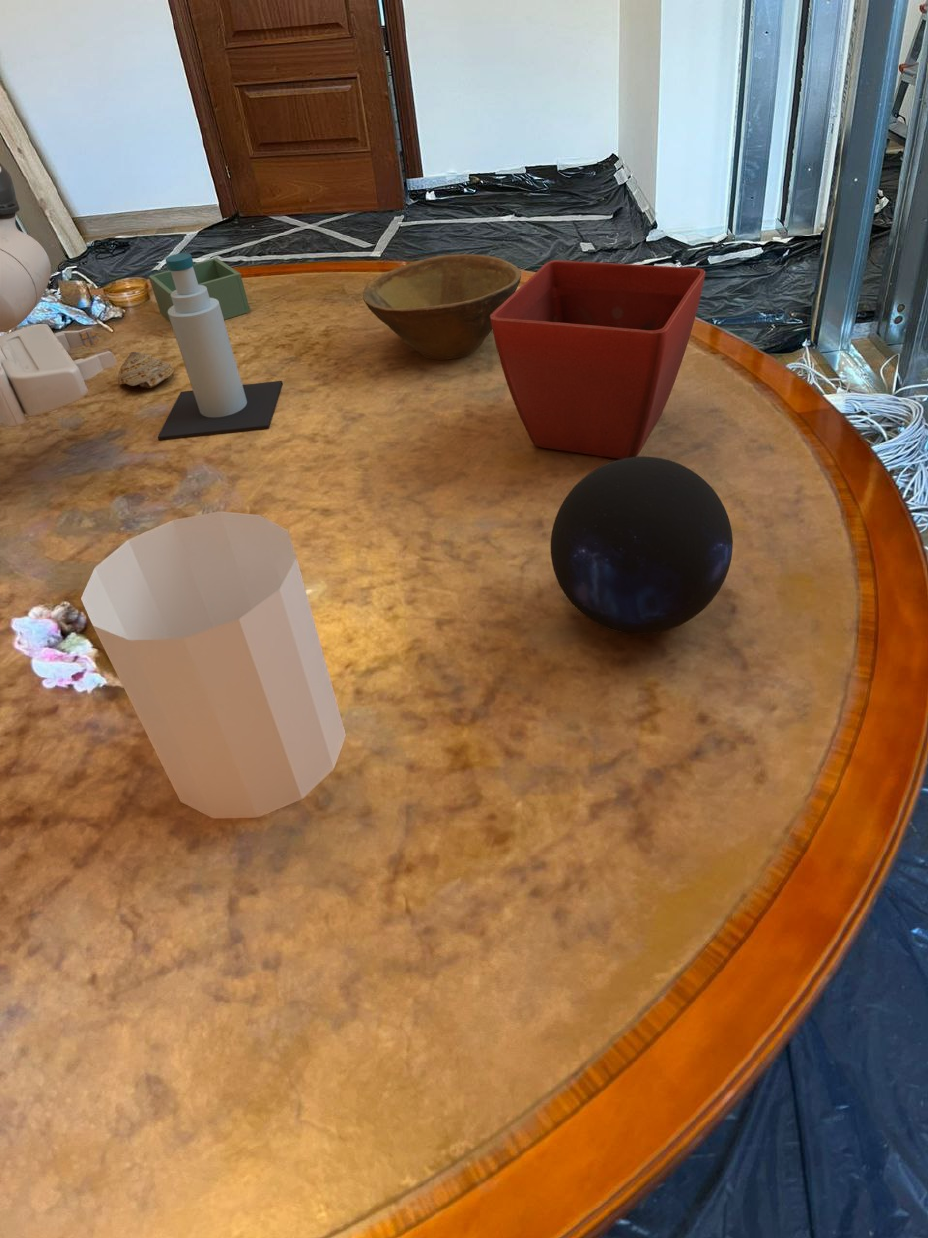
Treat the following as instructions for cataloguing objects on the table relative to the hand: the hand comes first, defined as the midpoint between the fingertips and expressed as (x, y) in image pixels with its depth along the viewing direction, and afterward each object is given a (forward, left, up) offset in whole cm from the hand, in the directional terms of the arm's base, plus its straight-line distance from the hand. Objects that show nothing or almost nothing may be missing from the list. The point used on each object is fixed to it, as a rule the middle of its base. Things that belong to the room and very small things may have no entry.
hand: (104, 345), depth 107 cm
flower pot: (+60, -11, -13) cm, 63 cm away
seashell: (-4, +19, -13) cm, 23 cm away
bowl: (+42, +20, -13) cm, 49 cm away
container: (+25, -58, -13) cm, 65 cm away
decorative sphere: (+58, -46, -13) cm, 76 cm away
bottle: (+10, +6, -12) cm, 17 cm away
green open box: (-1, +47, -13) cm, 49 cm away
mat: (+10, +6, -13) cm, 18 cm away
